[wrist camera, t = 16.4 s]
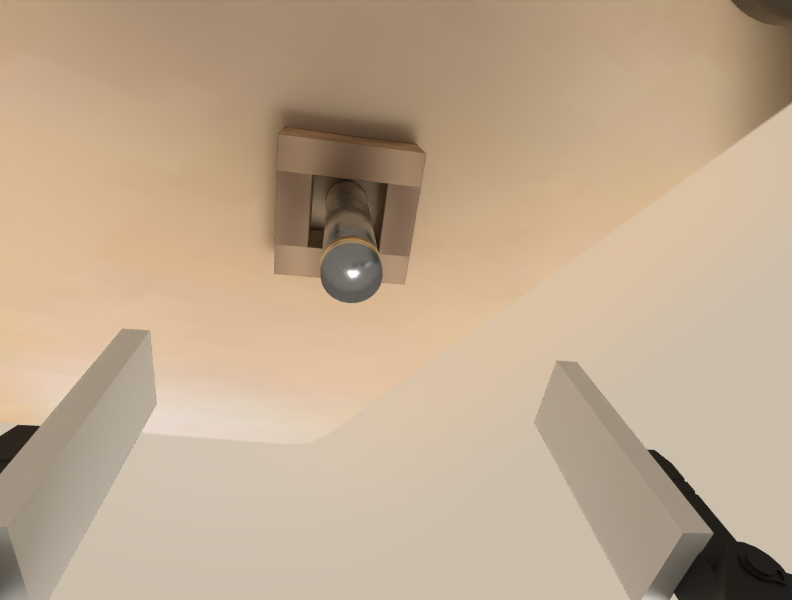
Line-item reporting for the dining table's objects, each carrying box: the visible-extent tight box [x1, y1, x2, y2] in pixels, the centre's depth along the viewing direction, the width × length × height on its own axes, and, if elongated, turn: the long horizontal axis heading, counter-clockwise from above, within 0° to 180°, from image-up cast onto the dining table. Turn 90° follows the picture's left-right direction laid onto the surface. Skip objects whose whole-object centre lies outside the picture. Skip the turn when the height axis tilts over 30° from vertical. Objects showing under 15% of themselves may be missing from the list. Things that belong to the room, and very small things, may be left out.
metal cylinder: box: [320, 181, 383, 303], centre depth 29 cm, size 3×3×14 cm
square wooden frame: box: [274, 127, 426, 285], centre depth 33 cm, size 9×9×4 cm
